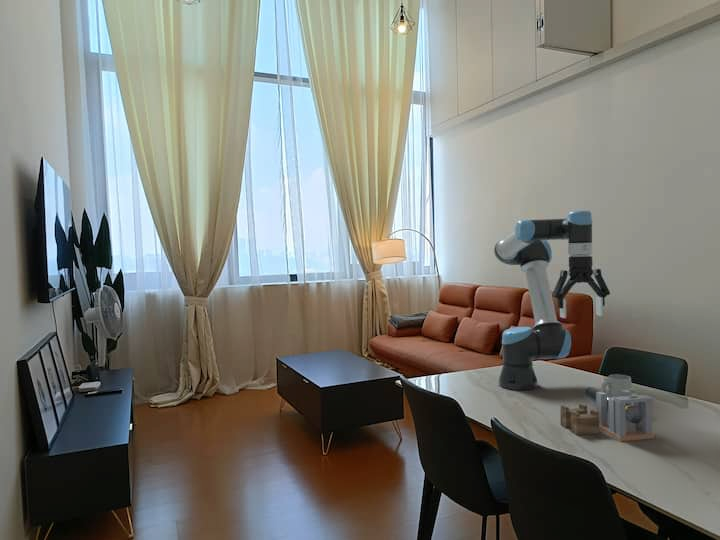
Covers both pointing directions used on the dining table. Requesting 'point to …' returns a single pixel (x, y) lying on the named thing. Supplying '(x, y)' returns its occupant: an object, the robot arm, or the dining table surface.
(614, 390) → the cup
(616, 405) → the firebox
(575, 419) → the rack
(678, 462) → the dining table surface
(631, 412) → the tube
